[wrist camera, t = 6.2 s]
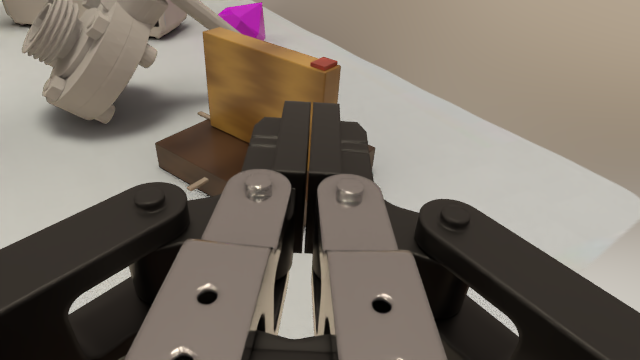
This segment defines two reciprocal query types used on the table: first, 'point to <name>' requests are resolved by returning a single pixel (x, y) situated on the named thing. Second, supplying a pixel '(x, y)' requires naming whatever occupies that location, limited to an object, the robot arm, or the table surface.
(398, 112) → the table surface
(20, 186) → the table surface
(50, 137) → the table surface
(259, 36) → the crystal
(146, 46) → the valve
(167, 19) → the radio
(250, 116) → the tan wooden flat block
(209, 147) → the panel
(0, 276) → the robot arm
